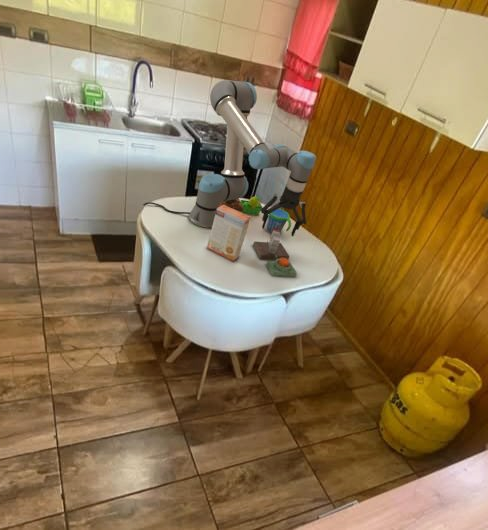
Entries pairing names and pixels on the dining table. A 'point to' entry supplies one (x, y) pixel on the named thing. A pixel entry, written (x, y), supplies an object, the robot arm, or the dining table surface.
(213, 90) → the robot arm
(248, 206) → the fruit basket
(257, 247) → the brown flat block
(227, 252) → the cracker box
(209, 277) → the dining table surface
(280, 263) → the button
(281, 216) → the snack cup
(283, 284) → the dining table surface
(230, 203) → the bread
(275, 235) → the tap lever
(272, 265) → the button housing
